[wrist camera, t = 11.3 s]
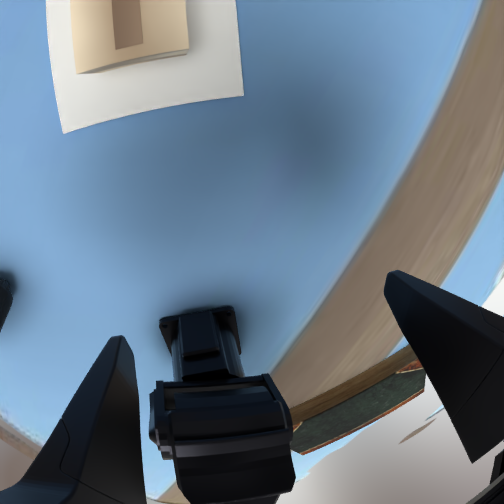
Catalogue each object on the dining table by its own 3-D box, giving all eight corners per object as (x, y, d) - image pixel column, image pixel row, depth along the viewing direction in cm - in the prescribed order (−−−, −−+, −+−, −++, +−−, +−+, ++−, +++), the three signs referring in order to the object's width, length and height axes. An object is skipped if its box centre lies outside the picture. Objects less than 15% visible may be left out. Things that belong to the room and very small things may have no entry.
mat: (241, 94, 17) (244, 95, 16) (67, 131, 15) (63, 134, 15) (224, -91, 9) (226, -96, 9) (51, -55, 8) (47, -58, 7)
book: (416, 334, 38) (261, 416, 40) (429, 352, 35) (267, 437, 37) (415, 379, 48) (298, 441, 50) (424, 393, 45) (303, 456, 47)
